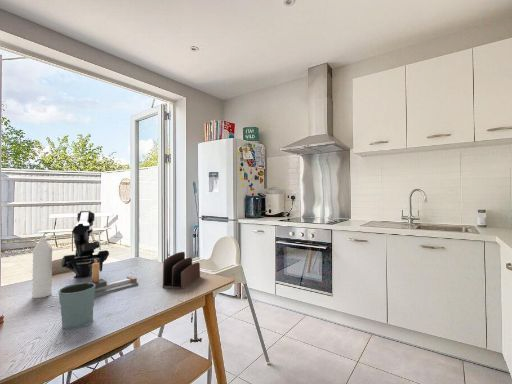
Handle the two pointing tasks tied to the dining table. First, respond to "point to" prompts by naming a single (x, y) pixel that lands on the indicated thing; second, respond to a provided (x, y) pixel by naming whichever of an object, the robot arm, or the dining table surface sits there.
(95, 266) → the carriage
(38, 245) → the water bottle
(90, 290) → the green planter pot
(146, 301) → the dining table surface
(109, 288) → the rail
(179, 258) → the letter holder
